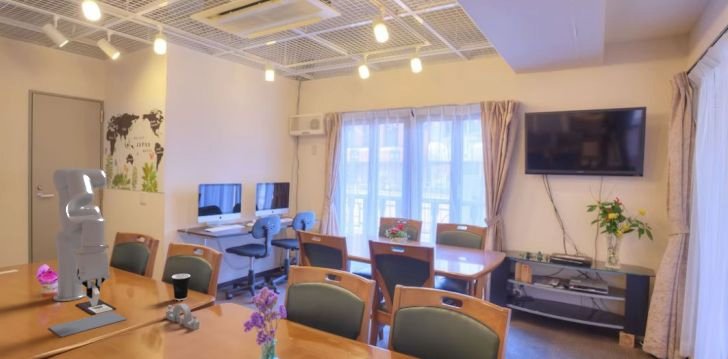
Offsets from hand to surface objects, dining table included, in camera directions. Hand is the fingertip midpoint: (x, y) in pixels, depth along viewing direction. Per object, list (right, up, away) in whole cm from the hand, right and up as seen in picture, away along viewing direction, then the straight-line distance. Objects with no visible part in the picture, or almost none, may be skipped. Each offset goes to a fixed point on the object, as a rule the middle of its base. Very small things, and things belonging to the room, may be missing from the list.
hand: (93, 296), depth 158 cm
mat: (-2, -11, 0) cm, 11 cm away
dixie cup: (+20, -11, +31) cm, 39 cm away
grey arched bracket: (+32, -12, +3) cm, 35 cm away
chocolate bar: (-11, -11, +18) cm, 24 cm away
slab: (-1, -2, +1) cm, 2 cm away
